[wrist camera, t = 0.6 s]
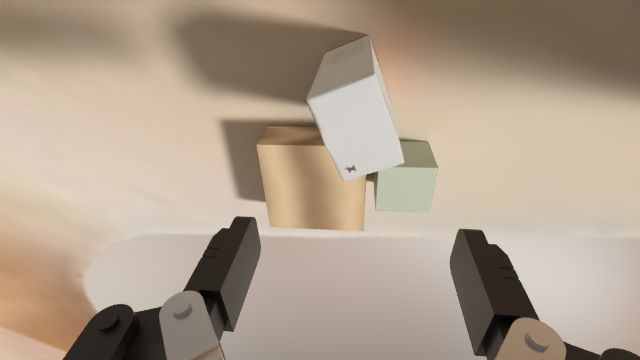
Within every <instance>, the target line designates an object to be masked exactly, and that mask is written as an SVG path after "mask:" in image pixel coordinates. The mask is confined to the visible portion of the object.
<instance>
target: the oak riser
mask: <svg viewBox="0 0 640 360" xmlns="http://www.w3.org/2000/svg"><path fill="white" fill-rule="evenodd" d="M256 146H257V152H258V158H259V164H260V170H261V175H262V181H263V187H264V193H265V199H266V205H267V210H268V216H269V222H270V227H283V228H306V229H328V230H350V231H364V211H365V192H366V175H363V176H360V177H357V178H354V179H351V180H348V181H345V182H344V181H342V179H341V177H340V175H339V173H338V171H337V168H336V166H335V164H334V162H333V160H332V158H331V156H330V154H329V152H328V150H327V149H326V146H325V144H324V142H323V139H322V136H321V134H320V131H319V129H318V127H308V126H267V127H266V129H265V130H264V132H263V134H262V136H261V137H260V139H259V141H258V143H257V144H256Z"/></svg>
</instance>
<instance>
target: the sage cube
mask: <svg viewBox="0 0 640 360" xmlns="http://www.w3.org/2000/svg"><path fill="white" fill-rule="evenodd" d="M400 144H401V149H402V153H403V158H404V163H403V164H400V165H397V166H394V167H390V168H387V169H384V170H380V171H377V172H374V195H375V211H389V212H416V213H429V211H430V206H431V201H432V196H433V191H434V186H435V181H436V176H437V171H438V166H437V164H436V161H435V158H434V156H433V153H432V150H431V148H430V145H429V142H428V141H400Z"/></svg>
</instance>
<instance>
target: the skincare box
mask: <svg viewBox="0 0 640 360" xmlns="http://www.w3.org/2000/svg"><path fill="white" fill-rule="evenodd" d="M306 102H307V104H308V107H309V109H310V111H311V113H312V115H313V118H314V120H315V122H316V124H317V126H318V129H319V131H320V134H321V136H322V139H323V142H324V144H325V146H326V149H327V150H328V152H329V154H330V156H331V158H332V160H333V162H334V164H335V166H336V168H337V171H338V173H339V175H340V177H341V179H342V181H344V182H345V181H348V180H351V179H354V178H357V177H360V176H363V175H367V174H370V173H373V172H377V171H380V170H384V169H387V168H390V167H394V166H397V165H400V164H403V163H404V158H403V153H402V149H401V144H400V140H399V136H398V131H397V127H396V122H395V118H394V114H393V110H392V105H391V100H390V96H389V94H388V90H387V87H386V84H385V81H384V78H383V75H382V71H381V68H380V65H379V62H378V59H377V56H376V53H375V50H374V47H373V44H372V40H371V37H370V35H367V36H365V37H363V38H360V39H358V40H355V41H353V42H350V43H348V44H346V45H343V46H341V47H338V48H336V49H334V50H331V51H329V52H327V53H325V55H324V57H323V60H322V62H321V64H320V67H319V69H318V72H317V74H316V77H315V79H314V82H313V84H312V87H311V89H310V91H309V94H308V96H307V98H306Z"/></svg>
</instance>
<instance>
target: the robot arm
mask: <svg viewBox="0 0 640 360" xmlns="http://www.w3.org/2000/svg"><path fill="white" fill-rule="evenodd" d="M260 250H261V245H260V239H259V233H258V228H257V223H256V219H255V218H254V217H240V216H237V217H235V218H234V220H233V222H232V224H231V226H230V228H229V229H227V228H222V229H221V230H220V231H219V232H218V233H217V234H215V235H214V236H213V238H212V239H211V241H210V243H209V245H208V247H207V249H206V250H205V252H204V254H203V257H202V258H201V259H200V261H199V263H198V265H197V267H196V268H195V270H194V272H193V274H192V276H191V278H190V279H189V282H188V283H187V285H186V287H185V289H184V290H183V292H180V293H178V294H175V295H174V296H172V297H171V298H169V299H168V300H167V301H166V302H165V303H164V305H163V306H162V307H158V308H154V309H149V310H144V311H140V312H135V313H134V312H133V310H132V308H131V307H130V306H128V305H125V304H117V305H113V306H110V307H107V308H105V309H103V310H102V311H100V312H99V313H97V314H96V315H95V316H94V317H93V318H92V319H91V320H90V321H89V323H88V324H87V326H86V327H85V328H84V330H83V331H82V333H81V334H80V336H79V337H78V338H77V340H76V341H75V343H74V344H73V346H72V347H71V348H70V350H69V351H68V353H67V354H66V356H65V357H64V358H63V360H226V359H225V356H224V353H223V350H222V347H221V344H220V339H221V337H222V334H223V331H231V332H234V329H235V326H236V323H237V320H238V317H239V314H240V311H241V309H242V306H243V303H244V300H245V297H246V294H247V292H248V289H249V286H250V283H251V280H252V277H253V275H254V271H255V269H256V266H257V263H258V260H259V257H260ZM450 269H451V274H452V277H453V281H454V285H455V288H456V292H457V295H458V298H459V302H460V306H461V309H462V313H463V316H464V319H465V323H466V327H467V330H468V334H469V337H470V341H471V344H472V348H473V351H474V355H476V356H486V357H487V360H640V357H639V356H638V355H636V354H634V353H632V352H629V351H626V350H623V349H617V348H613V349H608V350H606V351H604V352H603V353H602V354H601V355H598V354H595V353H593V352H590V351H587V350H584V349H581V348H578V347H576V346H573V345H570V344H568V343H566V342H564V341H563V340H562V339H561V337H560V336H559V335H558V334H557V333H556V332H555V331H554V330H553V329H552V328H551V327H549V326H548V325H546V324H545V323H543V322H541V321H540V320H539V318H538V316H537V314H536V312H535V310H534V308H533V306H532V304H531V302H530V300H529V298H528V296H527V294H526V292H525V290H524V288H523V286H522V284H521V282H520V280H519V279H518V276H517V274H516V272H515V270H514V267H513V265H512V263H511V261H510V259H509V257H508V255H507V254H505V253H504V252H503V251H502V250H501V249H500V248H499V247H498V246H497V245H495V244H488V242H487V240H486V237H485V235H484V233H483V231H482V230H474V229H459V230H458V233H457V236H456V240H455V243H454V246H453V250H452V253H451V257H450Z"/></svg>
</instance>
